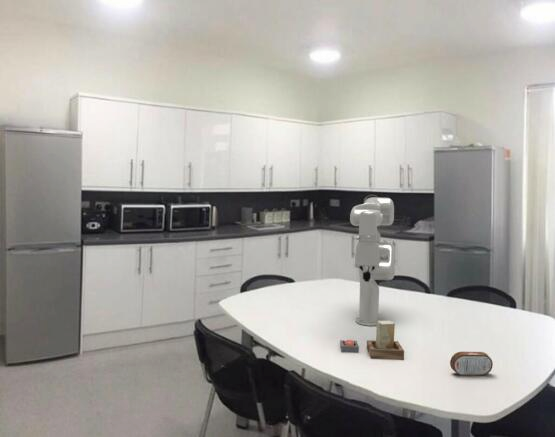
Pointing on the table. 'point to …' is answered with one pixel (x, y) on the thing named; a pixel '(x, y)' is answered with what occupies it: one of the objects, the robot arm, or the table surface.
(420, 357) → the table surface
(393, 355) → the tray
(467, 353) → the tin
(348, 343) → the button
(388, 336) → the skincare box
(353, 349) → the button housing
